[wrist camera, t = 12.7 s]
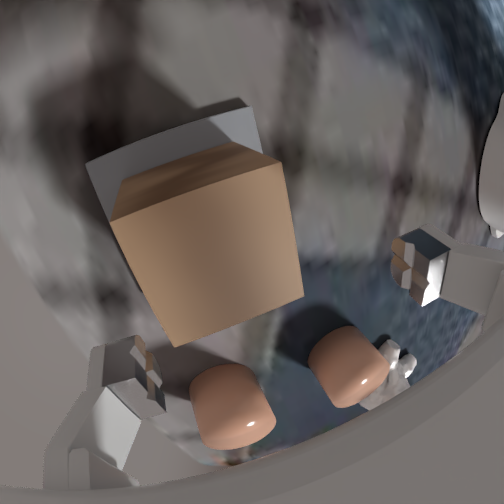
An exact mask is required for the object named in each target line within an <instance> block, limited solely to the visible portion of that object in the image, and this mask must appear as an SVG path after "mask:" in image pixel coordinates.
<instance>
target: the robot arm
mask: <svg viewBox="0 0 504 504" xmlns="http://www.w3.org/2000/svg"><path fill="white" fill-rule="evenodd" d="M479 205H480V211H481V215H482V217H483V219H484V221H485V222H487V223H488V224H489V225H490V229H491V234H492V236H494V237H496V238H500V237H501V236H502V235H503V234H504V93H503V94H502V96H501V100H500V105H499V111H498V114H497V117H496V119H495V121H494V123H493V125H492V127H491V129H490V132H489V135H488V138H487V141H486V144H485V148H484V153H483V158H482V163H481V170H480V179H479ZM392 251H393V253H394V254H395V255H394V257H393V259H392V261H391V272H392V275H393V278H394V280H395V281H396V283H397V284H398V285H399V286H400V287H402V288H406V289H409V295H410V296H411V297H412V298H413V299H414V300H415V301H416V302H418V303H419V304H420V305H421V306H424V305H426V304H427V303H429V302H431V301H433V300H435V299H436V298H438V297H440V298H442V299H445V300H447V301H450V302H452V303H455V304H457V305H460V306H462V307H465V308H467V309H470V310H472V311H475V312H477V313H480V314H482V315H485V318H484V321H483V323H482V330H483V331H484V333H483V334H482V335H480V336H479V337H478V338H477V339H476V340H474V341H473V342H472V343H471V344H470V345H468V346H467V347H466V348H464V349H463V350H462V351H461V352H459V353H458V354H457V355H455V356H454V357H453V358H451V359H450V360H449V361H447V362H446V363H445V364H443V365H442V366H440V367H439V368H438V369H436V370H435V371H433V372H432V373H430V374H429V375H428V376H426V377H425V378H423V379H422V380H420V381H419V382H417V383H415V384H414V385H412V386H411V387H409V388H408V389H406V390H404V391H403V392H401V393H400V394H398V395H396V396H395V397H393V398H391V399H389V400H388V401H386V402H384V403H383V404H381V405H379V406H377V407H375V408H374V409H372V410H370V411H368V412H366V413H364V414H362V415H360V416H359V417H357V418H355V419H353V420H351V421H349V422H347V423H345V424H343V425H340V426H338V427H336V428H334V429H332V430H330V431H328V432H325V433H323V434H321V435H319V436H316V437H314V438H312V439H309V440H307V441H305V442H302V443H300V444H297V445H295V446H292V447H289V448H287V449H284V450H281V451H279V452H276V453H273V454H270V455H267V456H265V457H262V458H259V459H256V460H252V461H249V462H246V463H243V464H239V465H236V466H233V467H229V468H226V469H222V470H218V471H214V472H210V473H206V474H202V475H197V476H193V477H188V478H183V479H178V480H172V481H167V482H161V483H154V484H147V485H140V486H139V481H138V480H137V479H136V478H134V477H132V476H130V475H128V474H127V473H125V472H123V471H122V469H123V466H124V464H125V461H126V459H127V456H128V453H129V451H130V448H131V446H132V443H133V441H134V438H135V436H136V433H137V431H138V428H139V426H140V423H141V419H145V418H149V417H153V416H156V415H160V414H164V413H166V406H165V398H164V394H163V392H162V391H161V390H160V389H159V388H160V386H161V384H162V382H163V381H162V374H161V371H160V367H159V365H158V363H157V361H156V359H155V357H154V356H153V354H152V353H150V352H148V351H146V350H145V342H144V341H143V340H142V338H141V337H140V336H139V335H134V336H131V337H127V338H124V339H120V340H117V341H113V342H110V343H107V344H104V345H100V346H97V347H93V349H92V350H91V353H90V361H89V369H88V378H87V387H86V391H85V392H82V393H81V394H80V396H79V397H78V399H77V400H76V402H75V403H74V405H73V406H72V408H71V409H70V411H69V412H68V414H67V416H66V417H65V419H64V420H63V422H62V423H61V425H60V426H59V428H58V429H57V431H56V433H55V434H54V436H53V437H52V439H51V441H50V442H49V444H48V445H47V447H46V449H45V453H44V470H43V489H34V488H23V487H13V486H6V485H0V504H504V251H501V250H497V249H492V248H487V247H483V246H478V245H473V244H468V243H463V244H461V243H459V242H458V241H456V240H455V239H453V238H452V237H450V236H449V235H447V234H445V233H444V232H442V231H441V230H439V229H438V228H436V227H434V226H433V225H431V224H425V225H423V226H421V227H419V228H417V229H416V230H413V231H411V232H409V233H406V234H404V235H402V236H400V237H397V238H395V239H394V240H393V242H392Z"/></svg>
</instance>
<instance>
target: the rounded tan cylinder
mask: <svg viewBox="0 0 504 504" xmlns="http://www.w3.org/2000/svg"><path fill="white" fill-rule="evenodd" d="M308 366H309V368H310V369H311V371H312V372H313V374H314V375H315V377H316V378H317V380H318V381H319V383H320V384H321V386H322V388H323V389H324V391H325V392H326V394H327V395H328V397H329V398H330V400H331V401H332V403H333V404H334V406H336V407H338V408H344V407H348V406H351V405H354V404H356V403H358V402H360V401H361V400H363V399H365V398H366V397H368V396H369V395H370V394H371V393H373V392H374V391H375V390H376V389H377V388H378V387H379V386H380V385H381V384H382V382H383V381H384V380H385V378H386V377H387V375H388V373H389V370H390V364H389V363H388V362H387V360H386V359H385V358H384V357H383V356H382V355H381V354H380V353H379V351H378V350H377V349H376V348H375V347H374V346H373V345H372V344H371V342H370V341H369V340H368V339H367V338H366V337H365V336H364V335H363V333H362V332H361V331H360V330H359V329H358V328H357V327H355V326H344V327H340V328H338V329H335V330H333V331H332V332H330V333H328V334H327V335H326V336H324V337H323V338H322V339H321V340H320V341H319V342H318V343H317V344H316V345H315V346H314V348H313V349H312V351H311V352H310V354H309V357H308Z"/></svg>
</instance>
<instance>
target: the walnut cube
mask: <svg viewBox="0 0 504 504" xmlns="http://www.w3.org/2000/svg"><path fill="white" fill-rule="evenodd" d="M109 223H110V225H111V227H112V229H113V232H114V234H115V236H116V238H117V240H118V243H119V245H120V247H121V249H122V251H123V253H124V255H125V257H126V259H127V262H128V264H129V266H130V268H131V270H132V272H133V274H134V276H135V278H136V280H137V281H138V283H139V285H140V287H141V289H142V291H143V293H144V295H145V297H146V299H147V301H148V302H149V304H150V306H151V308H152V310H153V312H154V313H155V315H156V317H157V319H158V320H159V322H160V324H161V326H162V327H163V329H164V331H165V333H166V334H167V336H168V338H169V339H170V341H171V343H172V345H173V346H174V348H175V347H178V346H181V345H183V344H186V343H189V342H192V341H194V340H197V339H200V338H202V337H205V336H208V335H210V334H213V333H215V332H218V331H221V330H223V329H226V328H228V327H231V326H233V325H236V324H239V323H241V322H244V321H246V320H248V319H251V318H253V317H256V316H258V315H261V314H263V313H266V312H268V311H270V310H273V309H275V308H278V307H280V306H282V305H285V304H287V303H289V302H292V301H294V300H296V299H299V298H301V297H303V296H304V292H303V285H302V278H301V272H300V265H299V259H298V253H297V247H296V241H295V235H294V229H293V223H292V217H291V212H290V206H289V201H288V195H287V190H286V185H285V179H284V174H283V169H282V164H281V162H280V161H278V160H275V159H273V158H271V157H269V156H266V155H264V154H262V153H260V152H257V151H255V150H253V149H250V148H248V147H246V146H243V145H241V144H238V143H236V142H230V143H226V144H223V145H220V146H216V147H213V148H210V149H207V150H203V151H200V152H197V153H194V154H191V155H188V156H185V157H182V158H179V159H177V160H174V161H171V162H168V163H165V164H162V165H160V166H157V167H154V168H152V169H149V170H146V171H144V172H141V173H139V174H136V175H133V176H131V177H128V178H126V179H123V180H122V182H121V185H120V188H119V192H118V195H117V198H116V201H115V205H114V208H113V212H112V215H111V219H110V222H109Z"/></svg>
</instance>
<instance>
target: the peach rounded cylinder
mask: <svg viewBox="0 0 504 504" xmlns="http://www.w3.org/2000/svg"><path fill="white" fill-rule="evenodd" d="M189 395H190V399H191V403H192V407H193V411H194V414H195V418H196V422H197V425H198V429H199V432H200V436H201V439H202V442H203V444H204V445H206V446H207V447H209V448H212V449H218V450H228V449H236V448H240V447H244V446H247V445H250V444H252V443H254V442H256V441H258V440H260V439H262V438H263V437H265V436H266V435H267V434H268V433H270V432H271V430H272V429H273V428H274V426H275V424H276V418H275V416H274V414H273V412H272V410H271V408H270V406H269V404H268V402H267V400H266V398H265V396H264V393H263V391H262V389H261V387H260V385H259V383H258V381H257V379H256V377H255V374H254V373H253V371H252V370H251V369H250V368H248V367H246V366H244V365H240V364H223V365H218V366H215V367H212V368H209V369H207V370H205V371H203V372H202V373H200V374H199V375H198V376H196V377H195V378H194V379H193V381H192V382H191V384H190V386H189Z"/></svg>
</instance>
